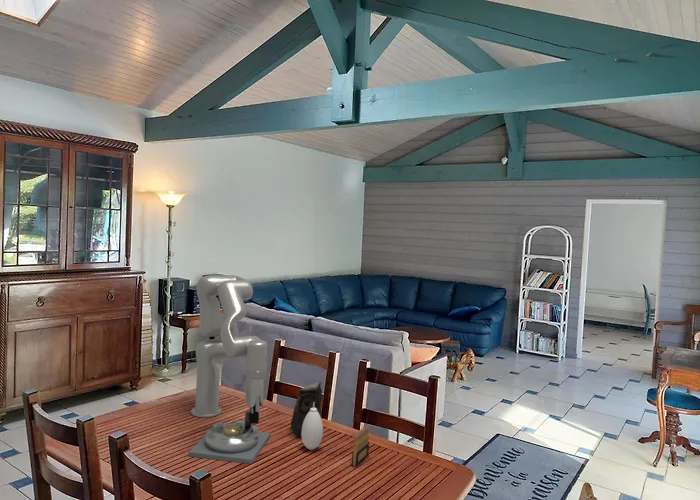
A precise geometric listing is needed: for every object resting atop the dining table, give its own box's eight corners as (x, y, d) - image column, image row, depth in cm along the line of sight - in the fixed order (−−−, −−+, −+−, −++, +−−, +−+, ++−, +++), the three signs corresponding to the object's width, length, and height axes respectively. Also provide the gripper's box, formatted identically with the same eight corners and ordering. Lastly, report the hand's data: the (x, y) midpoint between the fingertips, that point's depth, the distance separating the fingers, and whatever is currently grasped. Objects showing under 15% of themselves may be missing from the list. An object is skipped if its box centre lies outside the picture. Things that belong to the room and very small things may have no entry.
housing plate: (214, 430, 199) (214, 426, 199) (270, 437, 196) (270, 432, 196) (188, 456, 176) (188, 451, 176) (251, 463, 173) (251, 459, 173)
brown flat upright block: (355, 467, 175) (358, 433, 175) (351, 466, 176) (353, 432, 176) (368, 456, 185) (370, 424, 184) (364, 454, 186) (366, 422, 185)
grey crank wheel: (228, 458, 173) (229, 432, 172) (194, 441, 184) (195, 417, 184) (268, 441, 188) (269, 417, 187) (235, 426, 199) (236, 404, 199)
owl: (320, 427, 209) (323, 379, 208) (323, 439, 196) (326, 389, 196) (290, 426, 207) (293, 379, 206) (290, 439, 195) (293, 389, 194)
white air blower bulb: (309, 442, 193) (312, 396, 193) (325, 448, 189) (328, 401, 188) (296, 449, 187) (299, 401, 186) (312, 455, 182) (315, 406, 182)
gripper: (242, 369, 191) (239, 416, 192) (250, 380, 177) (247, 431, 178) (261, 368, 194) (259, 414, 195) (270, 379, 180) (268, 429, 181)
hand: (253, 422), depth 186 cm, fingers closed
